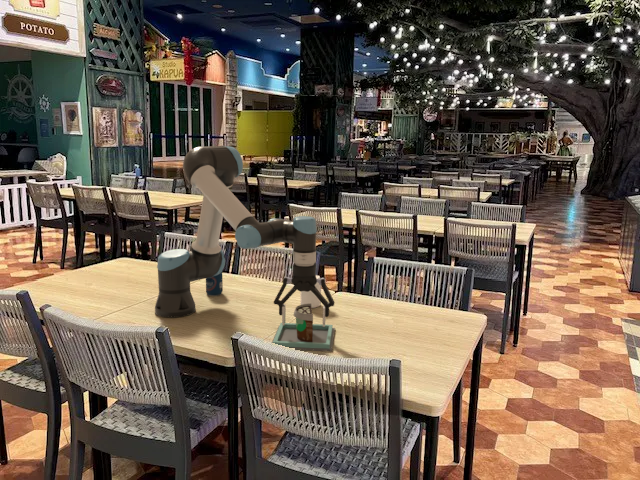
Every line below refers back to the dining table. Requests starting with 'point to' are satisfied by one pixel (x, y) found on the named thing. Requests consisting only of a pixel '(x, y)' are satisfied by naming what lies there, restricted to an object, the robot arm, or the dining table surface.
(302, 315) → the food container
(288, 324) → the container holder
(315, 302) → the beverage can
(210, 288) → the soda can
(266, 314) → the dining table surface
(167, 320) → the dining table surface
